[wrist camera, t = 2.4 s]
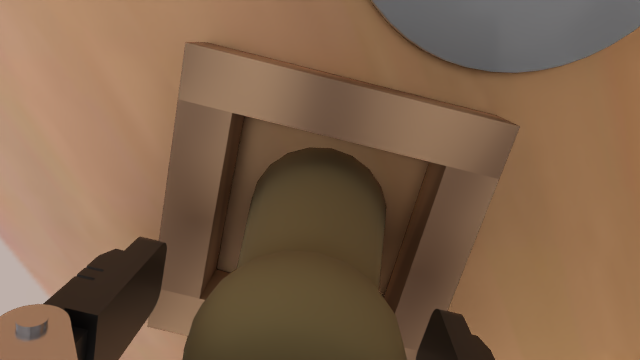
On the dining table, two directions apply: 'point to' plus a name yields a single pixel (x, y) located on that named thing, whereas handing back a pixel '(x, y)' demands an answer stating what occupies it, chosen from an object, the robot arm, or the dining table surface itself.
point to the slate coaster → (511, 30)
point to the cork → (304, 270)
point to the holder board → (337, 122)
